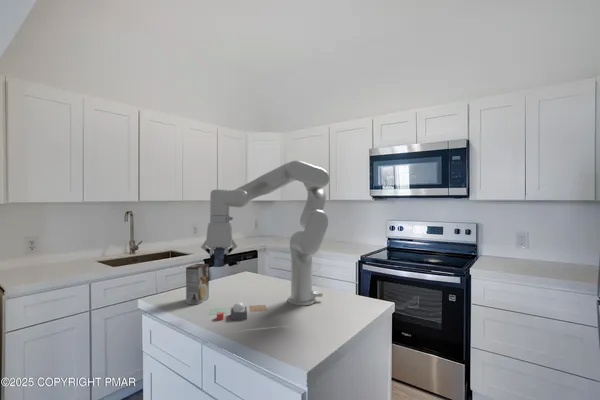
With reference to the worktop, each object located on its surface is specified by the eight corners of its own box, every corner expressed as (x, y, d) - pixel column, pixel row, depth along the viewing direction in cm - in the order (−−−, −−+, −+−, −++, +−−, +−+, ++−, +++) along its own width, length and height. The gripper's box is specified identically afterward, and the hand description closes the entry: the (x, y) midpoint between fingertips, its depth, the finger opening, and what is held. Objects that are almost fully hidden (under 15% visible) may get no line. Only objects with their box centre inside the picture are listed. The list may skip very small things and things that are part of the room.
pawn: (224, 264, 127) (225, 242, 127) (224, 266, 122) (224, 244, 123) (213, 265, 126) (214, 242, 126) (213, 267, 122) (213, 244, 122)
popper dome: (244, 313, 121) (244, 300, 121) (244, 317, 116) (244, 304, 116) (233, 314, 120) (233, 301, 120) (233, 318, 115) (233, 304, 115)
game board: (265, 305, 132) (265, 298, 132) (269, 318, 117) (269, 310, 117) (210, 309, 127) (210, 302, 127) (207, 323, 113) (207, 314, 113)
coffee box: (196, 297, 143) (196, 263, 143) (209, 298, 142) (209, 263, 142) (185, 303, 134) (185, 267, 134) (198, 304, 133) (199, 267, 133)
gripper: (240, 219, 130) (239, 262, 130) (199, 219, 126) (198, 263, 126) (240, 220, 122) (240, 265, 122) (196, 220, 119) (196, 267, 119)
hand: (219, 263), depth 124 cm, fingers closed on pawn, 4 cm apart
